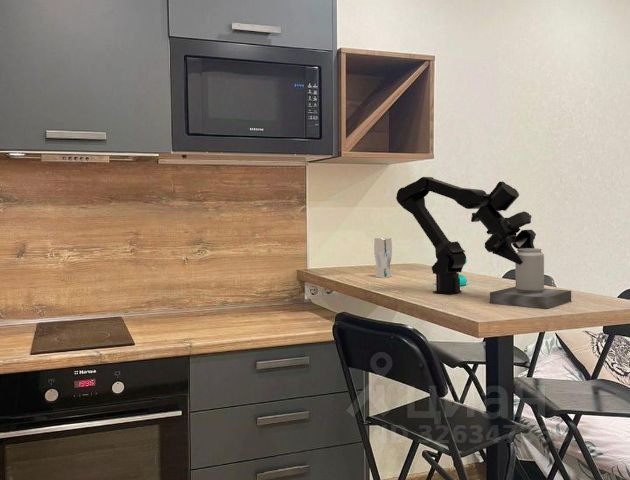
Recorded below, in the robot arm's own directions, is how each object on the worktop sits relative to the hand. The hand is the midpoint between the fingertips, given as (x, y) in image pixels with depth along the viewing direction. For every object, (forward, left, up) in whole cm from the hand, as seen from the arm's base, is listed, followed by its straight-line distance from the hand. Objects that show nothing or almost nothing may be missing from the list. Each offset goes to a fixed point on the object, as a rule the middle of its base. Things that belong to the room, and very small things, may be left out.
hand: (530, 262), depth 165 cm
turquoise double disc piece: (-37, +19, -11) cm, 43 cm away
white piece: (-71, +24, -11) cm, 76 cm away
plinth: (0, 0, -11) cm, 11 cm away
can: (0, 0, -8) cm, 8 cm away
